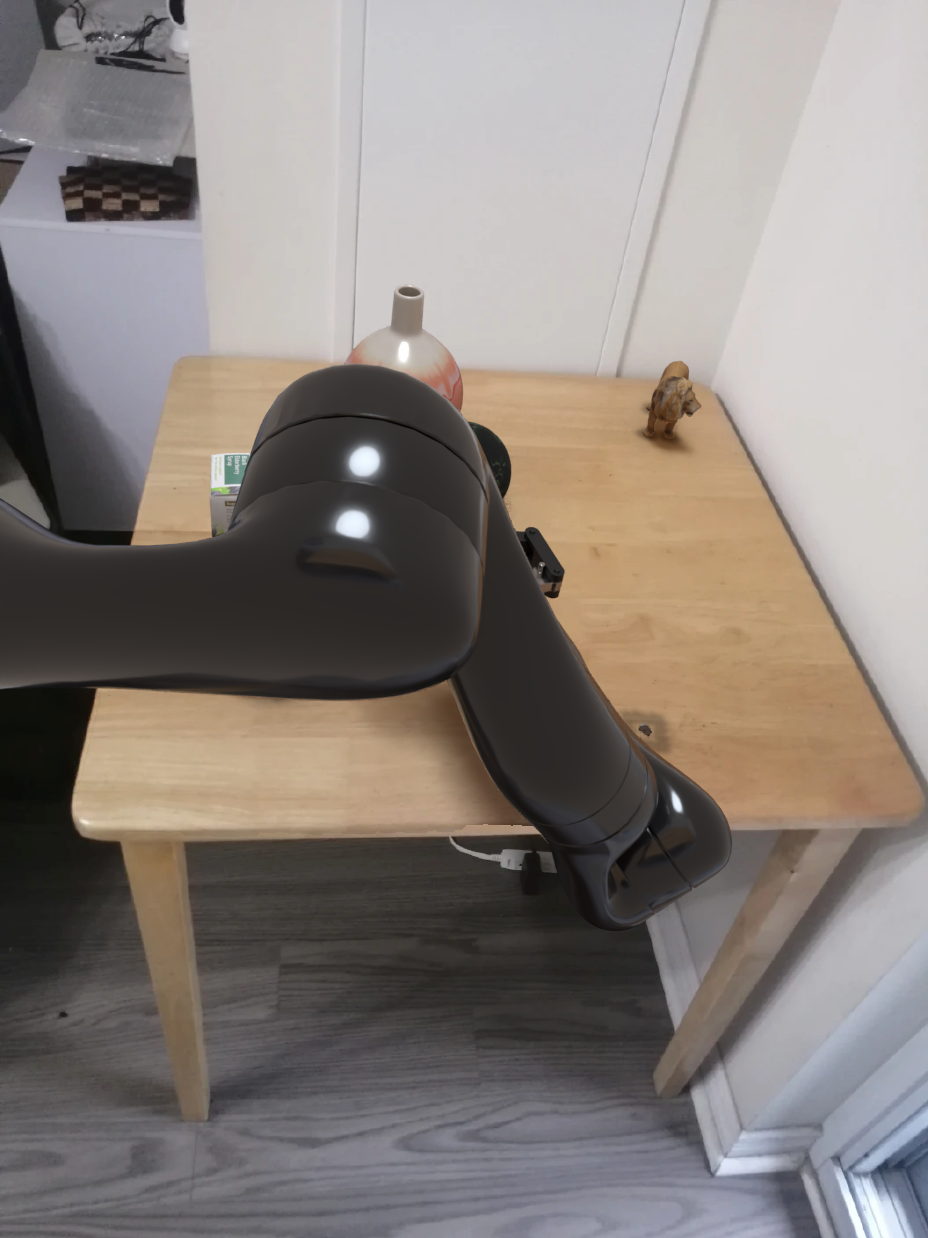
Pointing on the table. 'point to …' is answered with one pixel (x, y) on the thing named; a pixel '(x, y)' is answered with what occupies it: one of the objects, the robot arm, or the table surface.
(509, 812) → the table surface
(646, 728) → the dark square tile
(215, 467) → the syrup box
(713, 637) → the table surface
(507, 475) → the decorative stone
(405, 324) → the vase
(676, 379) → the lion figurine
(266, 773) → the table surface
